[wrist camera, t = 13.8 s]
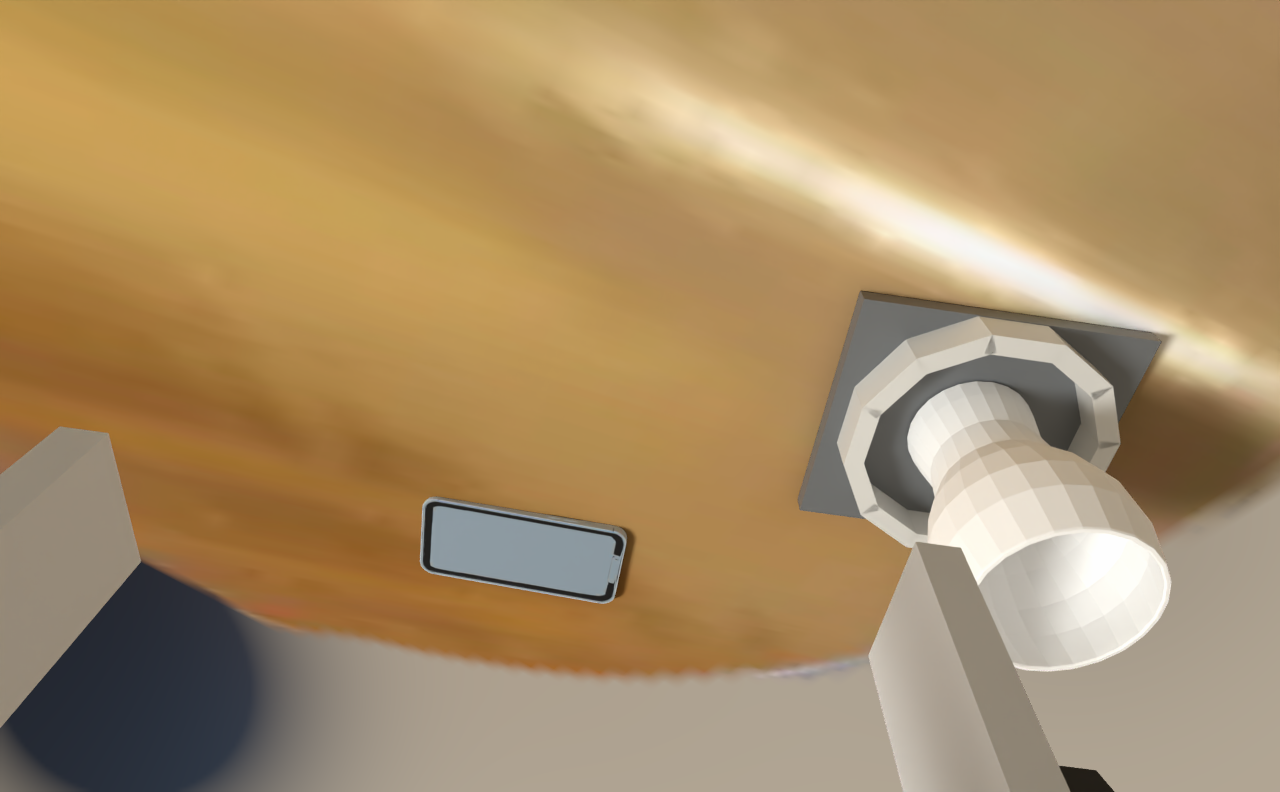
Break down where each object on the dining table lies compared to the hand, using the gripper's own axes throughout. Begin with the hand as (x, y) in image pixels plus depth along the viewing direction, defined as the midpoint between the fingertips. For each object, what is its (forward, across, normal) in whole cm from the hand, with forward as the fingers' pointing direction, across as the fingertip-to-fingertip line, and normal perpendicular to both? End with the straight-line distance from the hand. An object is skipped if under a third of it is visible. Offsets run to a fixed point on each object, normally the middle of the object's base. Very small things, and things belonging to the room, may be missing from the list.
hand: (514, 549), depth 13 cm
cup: (+34, +24, -16) cm, 44 cm away
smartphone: (+35, -4, -32) cm, 48 cm away
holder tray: (+35, +24, -16) cm, 45 cm away
